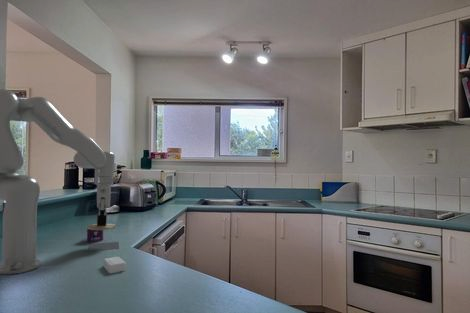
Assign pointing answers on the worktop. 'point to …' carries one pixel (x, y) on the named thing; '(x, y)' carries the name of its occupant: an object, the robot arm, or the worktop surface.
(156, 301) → the worktop surface
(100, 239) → the mug
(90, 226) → the lid
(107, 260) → the soap
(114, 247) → the mat
